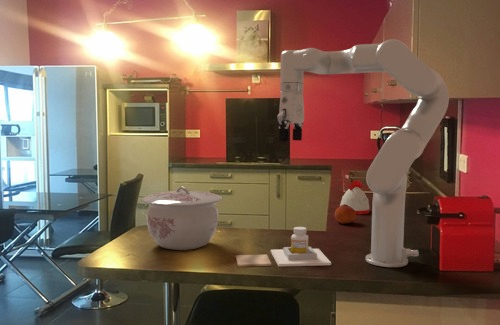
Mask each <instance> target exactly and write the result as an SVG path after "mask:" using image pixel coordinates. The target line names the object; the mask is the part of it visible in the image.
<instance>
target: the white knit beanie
mask: <svg viewBox="0 0 500 325" xmlns="http://www.w3.org/2000/svg"><path fill="white" fill-rule="evenodd" d="M362 185H363V182H361V180H360V179H359V180H357V179H356V180H354V179H353V181H352V182H351V183H350V185H348V189H347V190H346V191H345V193H344V194H343V195H342V196H341V201H340V204H339V207H340V206H341V205H343V204H346V205H348V206H350V207H352V208H353V209H354V210H355V212H356V215H366V214H369V213H370V203H369V202H370V201H369V198H368V197H367V195H366V193H365V191H363V189H361V188H362Z"/></svg>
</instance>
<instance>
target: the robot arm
mask: <svg viewBox="0 0 500 325" xmlns="http://www.w3.org/2000/svg"><path fill="white" fill-rule="evenodd" d="M304 72H307V73H313V74H316V75H342V74H344V75H345V74H363V73H365V74H367V73H387V74H388V75H390V77H392V79H394V81H396V82H397V83H398V84H399V85H400V86H401V87H402V88H404V89H405V90H406V91H407V92H408V93H409V94H411V95H412V96H414V97H417V102H416V105H415V106H414V107H413V109H412V110H411V112H410V113H409V115H408V117H407V119H406V120H405V122H404V123H403V125H402V127H401V128H400V129H398V130H395V131H394V132H392V133H390V135H389V136H388V137H387V138H386V140H385V142H384V143H383V144H382V146H381V148H380V149H379V151H378V152H377V154H376V156H375V157H374V159H373V161H372V162H371V164H370V166H369V167H368V169H367V171H366V175H365V179H366V180H365V182H366V184H367V187H368V188H369V189H370V191H371V192H372V195H373V196H372V205H371V207H372V208H371V239H370V240H371V241H370V242H371V244H370V253H369V254H367V255H365V261H366V262H367V263H368V264H371V265H374V266H378V267H382V268H401V267H406V266H407V265H408V264H409V259H408V258H409V257H419V255H420V254H419V250H418V249H411V248H406V247H404V236H405V234H404V230H405V229H404V228H405V207H406V206H405V205H406V204H405V203H406V195H407V194H406V193H407V183H408V174H407V173H408V170H409V169H410V168H411V166H412V164H413V163H414V162H415V160H416V159H418V158H420V156H422V154H423V152H424V149H425V148H426V147H427V145H428V143H429V141H430V140H431V138H432V137H433V135H434V134H435V131H436V130H437V128H438V127H439V125H440V123H441V122H442V120H443V118H444V117H445V116H446V115H445V114H446V112H447V110H448V107H449V101H450V94H449V89H448V86H447V84H446V82H445V80H444V78H443V77H442V76H441V75H440V74H439V73H438V72H437V71H436V70H434V69H433V68H431V67H429V65H428V64H426V63H425V62H424V61H423V60H422V59H421V58H419V57H418V56H417V55H416V54H415V53H414V52H412V51H411V49H410V47H409V46H408V45H407V44H406V43H404V42H403V41H401V40H399V39H397V38H396V39H394V38H392V39H391V38H389V39H387V40H385V41H383V42H381V43H364V44H355V45H354V46H352V47H351V48H349V49H344V50H336V51H335V50H334V51H332V50H331V51H323V50H321V49H319V48H318V49H317V48H316V47H307V48H303V49H298V50H296V49H289V50H284V51H282V52H281V53H280V91H279V93H280V97H279V98H280V99H279V110H278V111H279V113H278V114H277V117H276V118H277V123H278V129H279V130H278V131H279V133H278V134H279V135H278V136H279V138H278V140H279V142H285V143H286V142H289V141H290V129H289V126H290V124H292V127H293V128H292V141H302V139H303V126H304V122H305V101H304Z"/></svg>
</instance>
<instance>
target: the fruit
mask: <svg viewBox="0 0 500 325" xmlns="http://www.w3.org/2000/svg"><path fill="white" fill-rule="evenodd" d="M334 217H335V220H336V222H338V223H340V224H342V225H343V224H345V225H346V224H347V225H348V224H350V223H353V222H354V221H355V220H356V218H357V214H356V212H355V210H354V209H353V208H352V207H350V206H348V205H346V204H343V205H341V206H340V205H339V206H338V207H337V208H336V209H335V211H334Z"/></svg>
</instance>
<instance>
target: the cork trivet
mask: <svg viewBox="0 0 500 325" xmlns="http://www.w3.org/2000/svg"><path fill="white" fill-rule="evenodd" d="M235 259H236V264H237V267H267V266H269V267H271V266H272V261H271V260H270V258H269V256H268V254H237V255H236V254H235Z"/></svg>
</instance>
